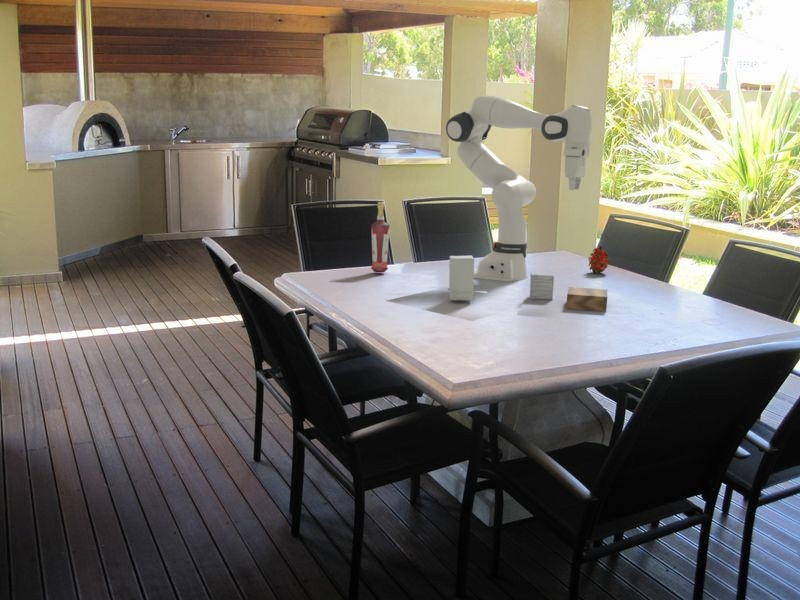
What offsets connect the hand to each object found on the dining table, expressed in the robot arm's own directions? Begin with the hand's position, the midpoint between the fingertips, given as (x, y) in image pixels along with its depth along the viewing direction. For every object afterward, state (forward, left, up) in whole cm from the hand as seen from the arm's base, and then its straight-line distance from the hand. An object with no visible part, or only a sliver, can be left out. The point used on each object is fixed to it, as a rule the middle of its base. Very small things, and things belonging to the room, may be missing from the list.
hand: (574, 189), depth 308 cm
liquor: (-75, +10, -37) cm, 85 cm away
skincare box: (-35, -31, -37) cm, 60 cm away
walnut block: (+8, -29, -37) cm, 47 cm away
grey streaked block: (-8, -21, -37) cm, 43 cm away
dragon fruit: (+11, +36, -37) cm, 53 cm away
